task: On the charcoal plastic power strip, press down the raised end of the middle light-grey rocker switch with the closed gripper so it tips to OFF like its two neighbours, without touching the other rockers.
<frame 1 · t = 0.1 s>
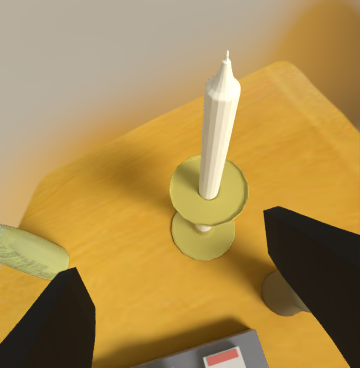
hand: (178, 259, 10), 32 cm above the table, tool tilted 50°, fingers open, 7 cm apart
candle: (203, 228, 44), on the table
tube: (55, 263, 42), on the table
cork: (282, 292, 40), on the table
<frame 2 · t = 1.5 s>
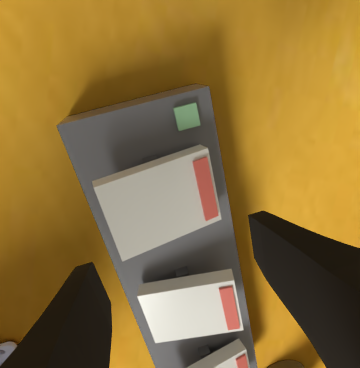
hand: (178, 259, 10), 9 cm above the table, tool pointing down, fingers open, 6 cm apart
rocker c: (162, 202, 15), point 4 cm above the table, hinge at 11.0°
strip: (179, 264, 22), on the table
rocker b: (192, 308, 18), point 4 cm above the table, hinge at -11.0°
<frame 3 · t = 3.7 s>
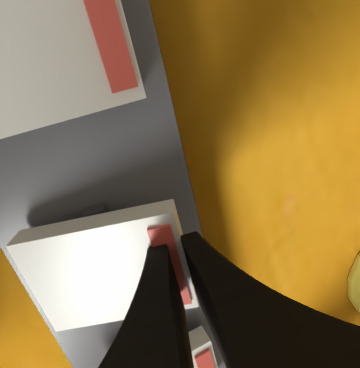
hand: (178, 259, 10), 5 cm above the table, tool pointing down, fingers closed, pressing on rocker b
rocker c: (16, 44, 8), point 4 cm above the table, hinge at 11.0°
strip: (113, 215, 15), on the table
rocker b: (110, 270, 11), point 4 cm above the table, hinge at -10.9°, touching gripper
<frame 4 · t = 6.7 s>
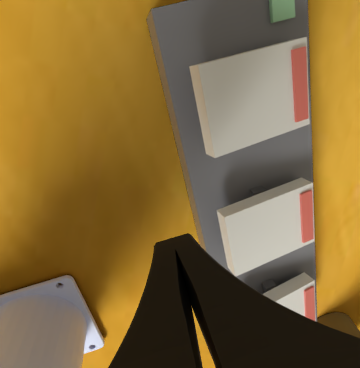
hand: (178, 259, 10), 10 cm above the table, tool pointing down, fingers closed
rocker c: (255, 97, 14), point 4 cm above the table, hinge at 11.0°
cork: (325, 332, 30), on the table
rocker a: (279, 316, 21), point 4 cm above the table, hinge at 11.0°
strip: (241, 197, 22), on the table
rocker b: (269, 227, 18), point 4 cm above the table, hinge at 8.4°
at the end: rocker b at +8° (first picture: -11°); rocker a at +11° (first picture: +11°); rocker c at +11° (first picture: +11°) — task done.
